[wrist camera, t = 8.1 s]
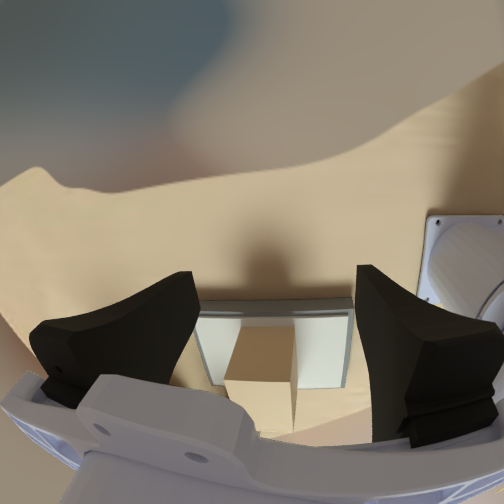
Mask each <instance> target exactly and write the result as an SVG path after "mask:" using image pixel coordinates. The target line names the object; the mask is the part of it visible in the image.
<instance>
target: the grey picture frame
mask: <svg viewBox="0 0 504 504" xmlns="http://www.w3.org/2000/svg"><path fill="white" fill-rule="evenodd" d="M199 303H200V307H201V310H200V314H199V317H198V320H197V323H196V326H195V328H194V330H193V332H194V335H195V338H196V341H197V345H198V348H199V351H200V354H201V357H202V360H203V363H204V366H205V369H206V372H207V375H208V378H209V381H210V383H211V385H217V386H225V383H224V380H223V379H224V376H225V373H226V370H227V367H228V364H229V361H230V358H231V355H232V352H233V349H234V346H235V343H236V340H237V337H238V334H239V331H240V328H241V327H288V326H295V333H296V351H297V371H298V387H297V389H333V388H345V383H346V376H347V369H348V362H349V355H350V347H351V338H352V329H353V318H354V305H353V301H352V297H347V298H327V299H300V300H249V301H213V300H199Z"/></svg>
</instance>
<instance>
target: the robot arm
mask: <svg viewBox="0 0 504 504" xmlns="http://www.w3.org/2000/svg"><path fill="white" fill-rule="evenodd" d="M499 219H500V221H499ZM437 220H439V223H438V224H436V221H437ZM498 221H499V223H498ZM426 298H428V299H427V300H425V299H426ZM436 303H442V305H443V306H444V308H445V309H442V308H440V307H437V306H435V305H433V304H436ZM200 310H201V307H200V303H199V300H198V296H197V292H196V288H195V283H194V279H193V275H192V271H180V272H177V273H174V274H172V275H170V276H168V277H166V278H164V279H162V280H161V281H159V282H157V283H155V284H153V285H151V286H150V287H148V288H146V289H144V290H142V291H140V292H138V293H136V294H134V295H132V296H131V297H129V298H126V299H124V300H122V301H120V302H117V303H115V304H112V305H110V306H107V307H104V308H101V309H98V310H95V311H92V312H89V313H85V314H81V315H77V316H72V317H66V318H59V319H52V320H44V321H42V322H41V323H40V324H39V325H38V326H37V327H36V328H35V329H34V330H32V331H31V332H30V335H29V341H30V345H31V348H32V350H33V352H34V354H35V355H36V357H37V359H38V360H39V362H40V363H41V365H42V366H43V368H44V369H45V371H46V372H47V374H48V375H49V377H48V378H47V380H46V381H45V380H44V379H43V378H42V377H41V376H39V375H37V374H35V373H33V372H30V371H26V373H25V374H24V375H23V376H22V377H21V378H20V379H19V381H18V382H17V383H16V384H15V385H14V386H13V388H12V389H11V390H10V391H9V393H7V395H6V396H5V397H4V398H3V399H2V401H1V402H0V406H1V408H2V409H3V410H4V411H5V413H6V414H7V415H8V416H9V417H10V418H11V419H12V420H13V421H14V423H15V424H16V425H17V426H18V427H19V428H20V429H21V430H22V431H23V432H24V433H25V434H26V435H27V436H28V437H29V438H30V439H31V440H32V441H33V442H35V443H36V444H38V445H39V446H40V447H42V448H43V449H45V450H46V451H47V452H49V453H50V454H52V455H53V456H55V457H56V458H58V459H59V460H60V461H62V462H63V463H65V464H67V465H68V466H70V467H72V468H73V469H74V470H76V471H77V472H76V473H75V475H74V477H73V478H72V480H71V482H70V484H69V486H68V487H67V489H66V491H65V493H64V495H63V497H62V499H61V500H60V502H59V504H458V503H461V502H463V501H465V500H467V499H470V498H472V497H474V496H476V495H479V494H481V493H483V492H485V491H487V490H489V489H491V488H494V487H495V486H497V485H499V484H501V483H503V482H504V215H432V216H429V217H428V218H427V221H426V231H425V241H424V251H423V259H422V266H421V273H420V279H419V285H418V291H417V296H415V295H414V294H412V293H410V292H409V291H407V290H406V289H404V288H403V287H401V286H400V285H398V284H397V283H395V282H394V281H393V280H391V279H390V278H389V277H387V276H386V275H385V274H384V273H382V272H381V271H380V270H378V269H377V268H376V267H374V266H373V265H371V264H370V265H357V275H356V293H355V314H356V321H357V327H358V331H359V335H360V339H361V342H362V346H363V350H364V354H365V358H366V362H367V366H368V372H369V380H370V390H371V404H372V434H373V435H372V443H366V444H356V445H343V446H323V447H322V446H321V447H313V446H306V445H299V444H293V443H287V442H282V441H276V440H271V439H267V438H262V437H258V435H257V432H256V428H255V424H254V421H253V420H252V418H251V417H250V416H249V414H248V413H247V412H246V410H245V409H244V408H243V407H242V406H240V405H239V404H237V403H235V402H233V401H231V400H230V399H228V398H226V397H224V396H222V395H218V394H214V393H211V392H207V391H203V390H198V389H190V388H183V387H177V386H171V385H168V384H169V381H170V378H171V375H172V373H173V370H174V368H175V365H176V363H177V361H178V359H179V357H180V355H181V353H182V351H183V349H184V348H185V346H186V344H187V342H188V340H189V338H190V336H191V334H192V332H193V330H194V328H195V326H196V323H197V320H198V317H199V314H200Z"/></svg>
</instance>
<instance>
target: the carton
mask: <svg viewBox="0 0 504 504" xmlns="http://www.w3.org/2000/svg"><path fill="white" fill-rule="evenodd" d="M223 380H224V383H225V386H226V390H227V393H228V396H229V399H230V400H231V401H233V402H235V403H237V404H239V405H240V406H242V407H243V408H244V409H245V410H246V412H247V413H248V414H249V416H250V417H251V418H252V420H253V421H254V424H255V428H256V431H264V432H293V430H294V420H295V410H296V399H297V387H298V371H297V351H296V333H295V326H288V327H241V328H240V331H239V334H238V337H237V340H236V343H235V346H234V349H233V352H232V355H231V358H230V361H229V364H228V367H227V370H226V373H225V376H224V379H223Z"/></svg>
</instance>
